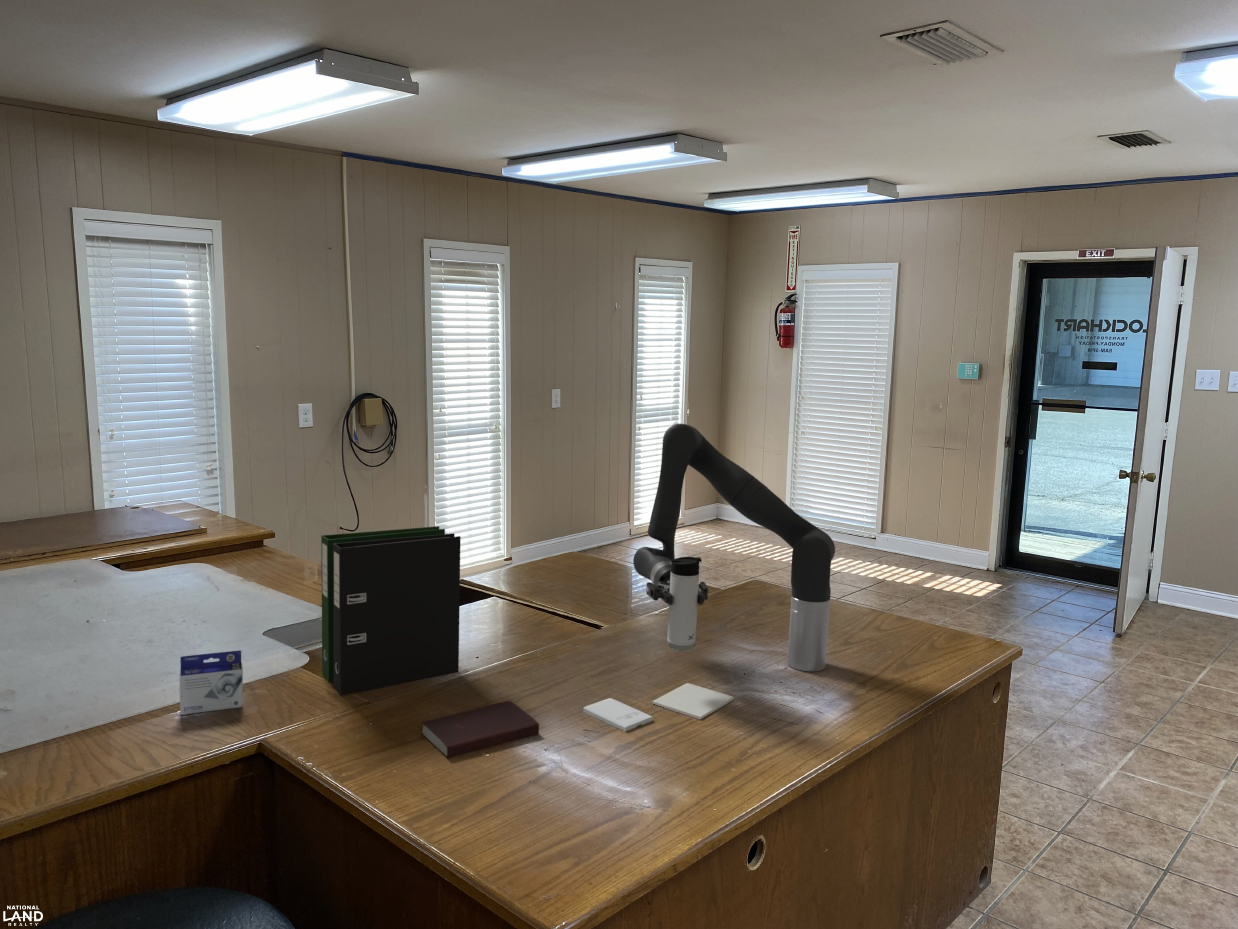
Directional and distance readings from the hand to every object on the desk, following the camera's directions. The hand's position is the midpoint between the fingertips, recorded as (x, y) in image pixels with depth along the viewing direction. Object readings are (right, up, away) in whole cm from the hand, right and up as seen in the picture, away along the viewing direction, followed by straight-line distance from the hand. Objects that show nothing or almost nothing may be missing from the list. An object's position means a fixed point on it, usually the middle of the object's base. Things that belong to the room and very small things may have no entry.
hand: (686, 600), depth 185 cm
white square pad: (+1, -22, 0) cm, 22 cm away
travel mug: (-1, -11, +4) cm, 11 cm away
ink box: (-97, -20, -13) cm, 100 cm away
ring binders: (-66, -18, +9) cm, 69 cm away
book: (-42, -23, -20) cm, 52 cm away
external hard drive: (-15, -23, -9) cm, 29 cm away
